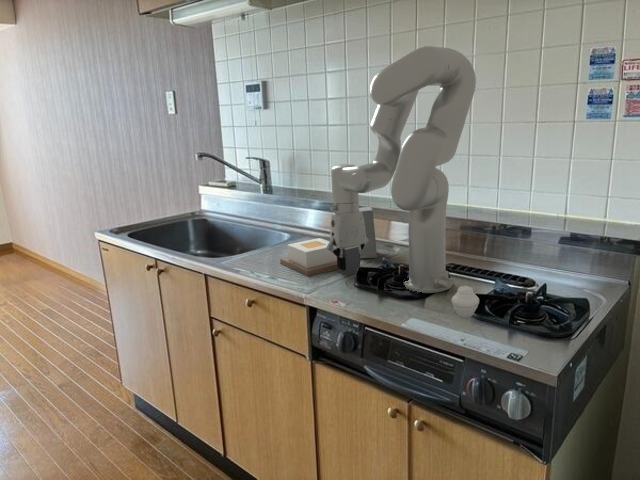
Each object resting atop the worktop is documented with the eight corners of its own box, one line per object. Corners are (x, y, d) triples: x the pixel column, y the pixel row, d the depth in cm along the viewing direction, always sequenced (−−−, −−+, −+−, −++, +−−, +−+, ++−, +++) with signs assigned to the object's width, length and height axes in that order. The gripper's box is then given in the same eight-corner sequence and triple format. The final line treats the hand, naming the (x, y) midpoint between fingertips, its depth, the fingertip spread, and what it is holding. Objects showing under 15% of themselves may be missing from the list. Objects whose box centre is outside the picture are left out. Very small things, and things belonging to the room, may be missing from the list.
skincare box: (377, 258, 164) (375, 210, 160) (355, 259, 164) (353, 211, 161) (375, 251, 172) (373, 205, 168) (354, 252, 173) (351, 206, 169)
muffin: (465, 307, 120) (465, 279, 119) (485, 315, 115) (485, 286, 114) (445, 313, 118) (445, 285, 116) (464, 322, 112) (464, 292, 111)
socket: (349, 265, 158) (348, 245, 157) (307, 276, 151) (306, 255, 149) (319, 254, 173) (318, 235, 172) (280, 262, 166) (278, 243, 164)
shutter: (325, 247, 160) (325, 245, 160) (309, 250, 157) (309, 248, 157) (316, 244, 164) (316, 241, 164) (301, 247, 162) (300, 245, 161)
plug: (360, 272, 152) (359, 243, 149) (347, 275, 149) (345, 246, 147) (351, 268, 155) (349, 240, 153) (338, 271, 153) (336, 243, 151)
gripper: (328, 213, 140) (332, 276, 145) (377, 204, 148) (379, 264, 153) (314, 210, 147) (318, 270, 151) (362, 201, 155) (364, 259, 159)
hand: (349, 266), depth 152 cm, fingers closed on plug, 4 cm apart
